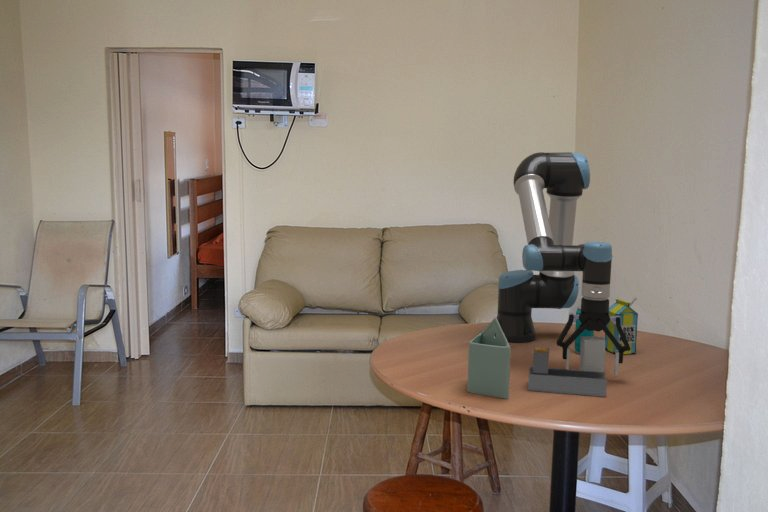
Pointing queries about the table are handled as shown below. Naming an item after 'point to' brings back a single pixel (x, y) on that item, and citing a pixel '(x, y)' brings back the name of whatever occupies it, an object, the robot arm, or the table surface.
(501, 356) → the planter
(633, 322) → the carton
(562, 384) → the rail
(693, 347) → the table surface
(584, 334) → the beverage can
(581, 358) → the skincare box
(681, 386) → the table surface
